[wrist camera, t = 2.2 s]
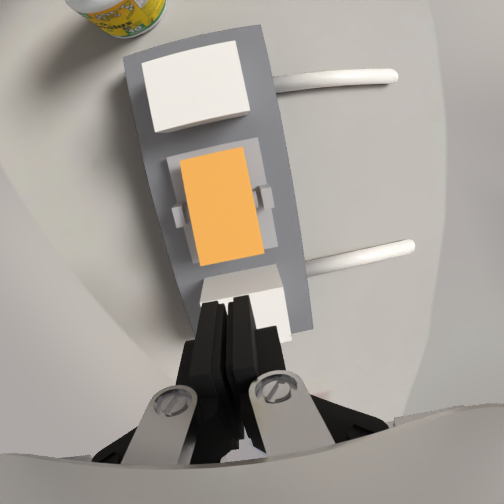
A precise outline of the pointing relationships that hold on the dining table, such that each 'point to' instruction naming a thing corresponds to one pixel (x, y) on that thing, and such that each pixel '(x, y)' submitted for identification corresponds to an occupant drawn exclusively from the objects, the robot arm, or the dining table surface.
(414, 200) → the dining table surface
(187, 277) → the power strip
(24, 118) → the dining table surface
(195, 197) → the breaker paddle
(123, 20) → the supplement bottle
